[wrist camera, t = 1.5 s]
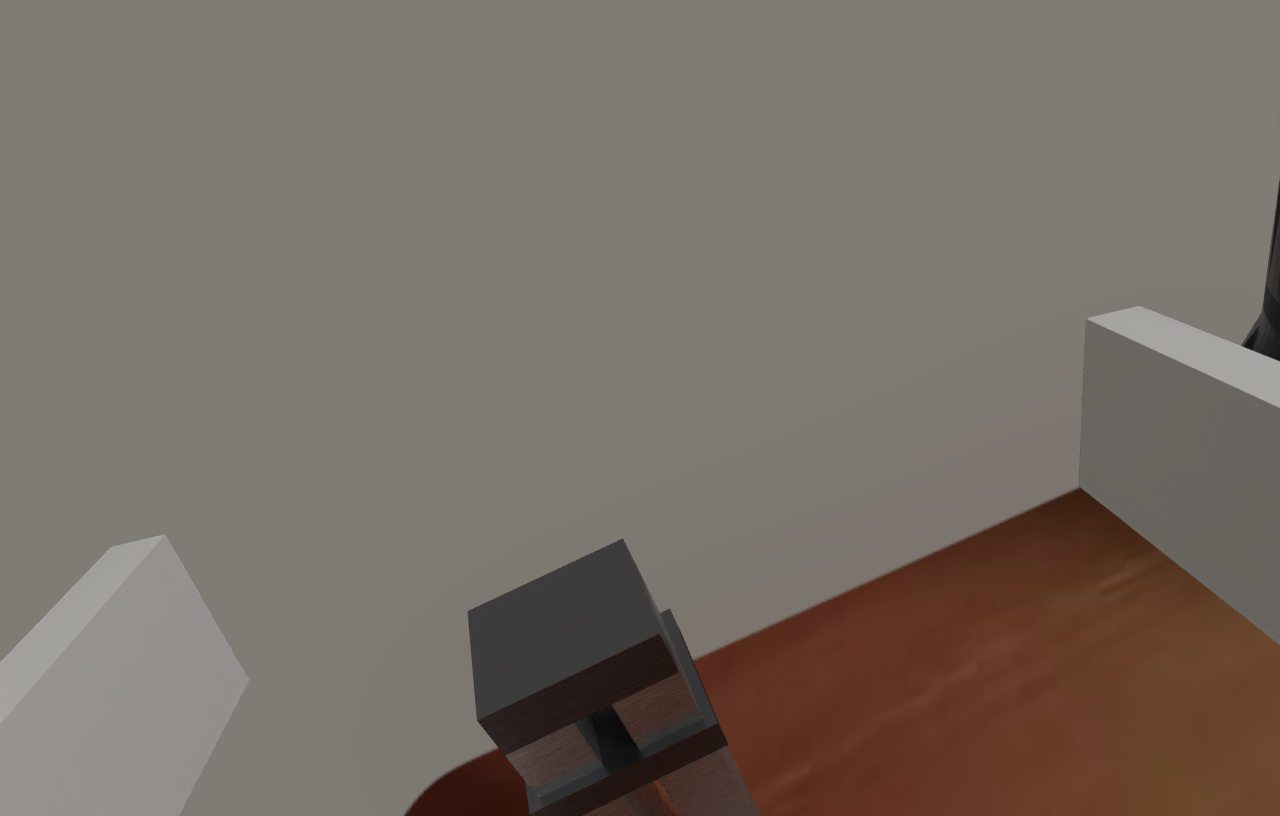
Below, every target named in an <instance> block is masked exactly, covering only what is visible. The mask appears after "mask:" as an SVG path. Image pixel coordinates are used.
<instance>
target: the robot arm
mask: <svg viewBox="0 0 1280 816" xmlns="http://www.w3.org/2000/svg"><path fill="white" fill-rule="evenodd" d="M1084 351H1085V352H1084V373H1083V398H1082V422H1081V445H1080V446H1081V447H1080V469H1079V487H1081V488H1082V489H1083V490H1084V491H1086V492H1087V493H1088V494H1089V495H1091V496H1092V497H1093V498H1095V499H1096V500H1097V501H1098V502H1100V503H1101V504H1102V505H1103V506H1105V507H1106V508H1107V509H1108V510H1110V511H1111V512H1112V513H1113V514H1115V515H1116V516H1117V517H1119V518H1120V519H1121V520H1122V521H1124V522H1125V523H1126V524H1127V525H1129V526H1130V527H1131V528H1132V529H1134V530H1135V531H1136V532H1138V533H1139V534H1140V535H1141V536H1143V537H1144V538H1145V539H1146V540H1148V541H1149V542H1150V543H1151V544H1153V545H1154V546H1155V547H1156V548H1158V549H1159V550H1160V551H1162V552H1163V553H1164V554H1165V555H1167V556H1168V557H1169V558H1170V559H1172V560H1173V561H1174V562H1175V563H1177V564H1178V565H1179V566H1180V567H1182V568H1183V569H1184V570H1186V571H1187V572H1188V573H1189V574H1191V575H1192V576H1193V577H1194V578H1196V579H1197V580H1198V581H1199V582H1201V583H1202V584H1203V585H1205V586H1206V587H1207V588H1208V589H1210V590H1211V591H1212V592H1213V593H1215V594H1216V595H1217V596H1218V597H1220V598H1221V599H1222V600H1223V601H1225V602H1226V603H1227V604H1229V605H1230V606H1231V607H1232V608H1234V609H1235V610H1236V611H1237V612H1239V613H1240V614H1241V615H1242V616H1244V617H1245V618H1246V619H1247V620H1249V621H1250V622H1251V623H1253V624H1254V625H1255V626H1256V627H1258V628H1259V629H1260V630H1261V631H1263V632H1264V633H1265V634H1266V635H1268V636H1269V637H1270V638H1272V639H1273V640H1274V641H1275V642H1277V643H1278V644H1279V645H1280V181H1279V189H1278V196H1277V204H1276V211H1275V217H1274V226H1273V232H1272V240H1271V247H1270V254H1269V261H1268V268H1267V276H1266V286H1265V294H1264V302H1263V309H1262V312H1261V314H1260V316H1259V318H1258V319H1257V321H1256V322H1255V324H1254V326H1253V327H1252V329H1251V330H1250V332H1249V334H1248V335H1247V337H1246V338H1245V340H1244V342H1243V343H1242V345H1241V346H1239V345H1237V344H1234V343H1232V342H1229V341H1227V340H1224V339H1222V338H1219V337H1217V336H1214V335H1212V334H1209V333H1207V332H1204V331H1202V330H1199V329H1196V328H1194V327H1191V326H1189V325H1186V324H1184V323H1181V322H1179V321H1176V320H1174V319H1171V318H1169V317H1166V316H1164V315H1161V314H1159V313H1156V312H1154V311H1151V310H1148V309H1146V308H1143V307H1141V306H1137V307H1133V308H1129V309H1124V310H1120V311H1116V312H1112V313H1107V314H1103V315H1099V316H1094V317H1091V318H1086V325H1085V350H1084ZM248 682H249V679H248V677H247V676H246V674H245V672H244V670H243V669H242V667H241V665H240V663H239V662H238V660H237V658H236V657H235V655H234V653H233V651H232V650H231V648H230V646H229V645H228V643H227V641H226V639H225V637H224V636H223V634H222V632H221V630H220V629H219V627H218V625H217V624H216V622H215V620H214V618H213V617H212V615H211V613H210V612H209V610H208V608H207V606H206V605H205V603H204V601H203V599H202V598H201V596H200V594H199V592H198V591H197V589H196V587H195V585H194V584H193V582H192V580H191V578H190V577H189V575H188V573H187V571H186V570H185V568H184V566H183V565H182V563H181V561H180V559H179V558H178V556H177V554H176V552H175V551H174V549H173V547H172V545H171V544H170V542H169V540H168V539H167V537H166V535H160V536H156V537H152V538H148V539H143V540H139V541H134V542H130V543H126V544H122V545H117V546H113V547H111V548H110V549H109V550H108V551H107V552H106V553H105V554H104V555H103V556H102V557H101V558H100V559H99V560H98V561H97V562H96V563H95V565H93V567H92V568H91V569H90V570H89V571H88V572H87V573H86V574H85V575H84V576H83V577H82V578H81V579H80V580H79V581H78V582H77V583H76V584H75V585H74V586H73V587H72V588H71V590H69V591H68V593H67V594H66V595H65V596H64V597H63V598H62V599H61V600H60V601H59V602H58V603H57V604H56V605H55V606H54V607H53V608H52V609H51V610H50V611H49V612H48V613H47V614H46V616H44V618H43V619H42V620H41V621H40V622H39V623H38V624H37V625H36V626H35V627H34V628H33V629H32V630H31V631H30V632H29V633H28V634H27V635H26V636H25V637H24V638H23V640H22V641H21V642H19V644H18V645H17V646H16V647H15V648H14V649H13V650H12V651H11V652H10V653H9V654H8V655H7V656H6V657H5V658H4V659H3V660H2V661H1V662H0V816H179V815H180V813H181V811H182V809H183V807H184V805H185V803H186V801H187V799H188V797H189V796H190V794H191V792H192V789H193V788H194V786H195V784H196V782H197V780H198V778H199V776H200V774H201V772H202V771H203V768H204V766H205V765H206V763H207V761H208V759H209V757H210V755H211V753H212V751H213V749H214V747H215V745H216V744H217V742H218V740H219V738H220V736H221V734H222V732H223V730H224V728H225V726H226V724H227V722H228V720H229V718H230V717H231V715H232V713H233V711H234V709H235V707H236V705H237V703H238V701H239V699H240V697H241V695H242V693H243V692H244V690H245V688H246V686H247V684H248Z"/></svg>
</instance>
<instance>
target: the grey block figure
mask: <svg viewBox="0 0 1280 816" xmlns="http://www.w3.org/2000/svg"><path fill="white" fill-rule="evenodd" d="M468 621H469V632H470V644H471V656H472V667H473V678H474V689H475V702H476V713H477V721H478V722H479V723H480V724H481V726H482V727H483V728H484V730H485V731H486V732H487V733H488V735H489V736H490V737H491V738H492V740H493V741H494V742H495V744H496V745H497V746H498V747H499V749H500V750H501V751H502V752H503V754H504V755H505V756H506V757H507V759H508V760H509V761H510V762H511V764H512V765H513V766H514V767H515V769H516V770H517V771H518V772H519V774H520V775H521V776H522V777H523V779H524V780H525V784H526V791H527V799H528V806H529V813H530V815H531V816H674V815H673V813H672V811H671V810H670V808H669V807H668V805H667V803H666V802H665V800H664V799H663V797H662V795H661V794H660V792H659V791H658V789H657V787H656V786H655V784H654V783H653V781H655V780H657V779H658V781H659V782H660V784H661V786H662V787H663V789H664V790H665V792H666V794H667V795H668V797H669V799H670V800H671V802H672V803H673V805H674V807H675V808H676V810H677V812H678V813H679V815H680V816H761V814H760V812H759V810H758V808H757V806H756V804H755V802H754V800H753V798H752V796H751V794H750V792H749V790H748V788H747V786H746V784H745V782H744V780H743V778H742V776H741V774H740V772H739V770H738V768H737V766H736V764H735V762H734V760H733V758H732V756H731V754H730V752H729V750H728V748H727V745H728V743H727V740H726V738H725V735H724V733H723V731H722V728H721V726H720V724H719V721H718V719H717V716H716V714H715V712H714V709H713V707H712V705H711V702H710V700H709V698H708V695H707V693H706V690H705V688H704V686H703V683H702V681H701V679H700V676H699V674H698V671H697V669H696V667H695V664H694V662H693V660H692V657H691V655H690V652H689V650H688V648H687V646H686V643H685V641H684V638H683V636H682V634H681V631H680V629H679V627H678V625H677V623H676V621H675V619H674V617H673V614H672V612H671V611H670V609H668V610H666V611H664V612H662V613H660V612H659V610H658V608H657V606H656V604H655V602H654V600H653V598H652V596H651V594H650V592H649V590H648V588H647V586H646V584H645V582H644V580H643V578H642V576H641V574H640V572H639V570H638V568H637V566H636V564H635V562H634V560H633V558H632V556H631V554H630V552H629V550H628V548H627V546H626V544H625V542H624V540H623V539H621V540H619V541H617V542H615V543H612V544H610V545H608V546H606V547H604V548H602V549H600V550H598V551H595V552H593V553H591V554H589V555H587V556H585V557H583V558H580V559H578V560H576V561H574V562H572V563H570V564H568V565H565V566H563V567H561V568H559V569H557V570H555V571H553V572H550V573H548V574H546V575H544V576H542V577H540V578H538V579H536V580H533V581H531V582H529V583H527V584H525V585H523V586H521V587H519V588H516V589H514V590H512V591H510V592H508V593H506V594H503V595H501V596H499V597H497V598H495V599H493V600H491V601H489V602H486V603H484V604H482V605H480V606H478V607H476V608H474V609H472V610H469V611H468Z"/></svg>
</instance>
